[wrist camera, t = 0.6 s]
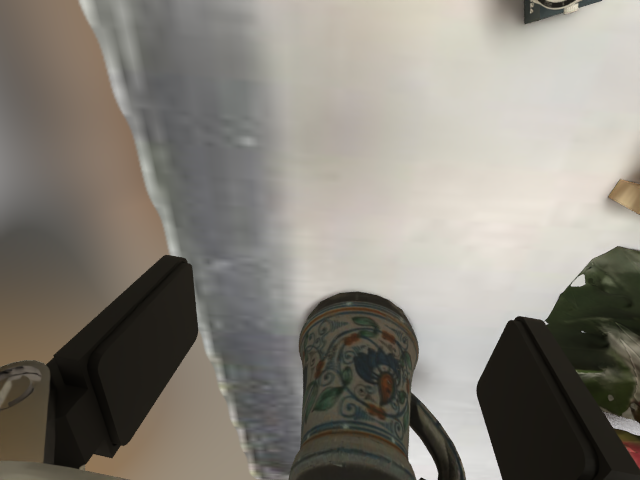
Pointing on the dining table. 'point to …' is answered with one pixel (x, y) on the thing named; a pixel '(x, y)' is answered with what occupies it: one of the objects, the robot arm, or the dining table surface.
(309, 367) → the beer stein
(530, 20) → the watch
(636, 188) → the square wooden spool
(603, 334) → the rose bouquet
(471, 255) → the dining table surface
